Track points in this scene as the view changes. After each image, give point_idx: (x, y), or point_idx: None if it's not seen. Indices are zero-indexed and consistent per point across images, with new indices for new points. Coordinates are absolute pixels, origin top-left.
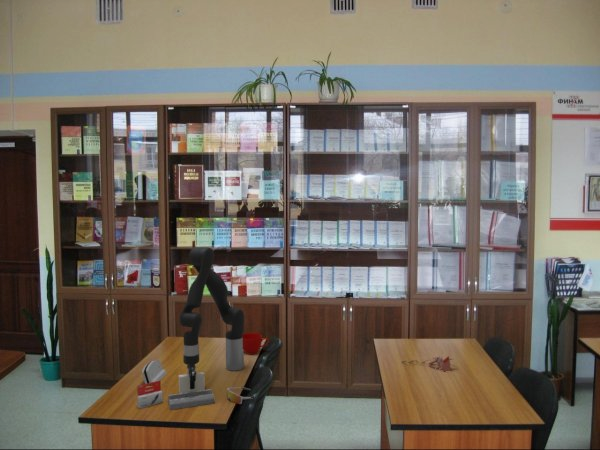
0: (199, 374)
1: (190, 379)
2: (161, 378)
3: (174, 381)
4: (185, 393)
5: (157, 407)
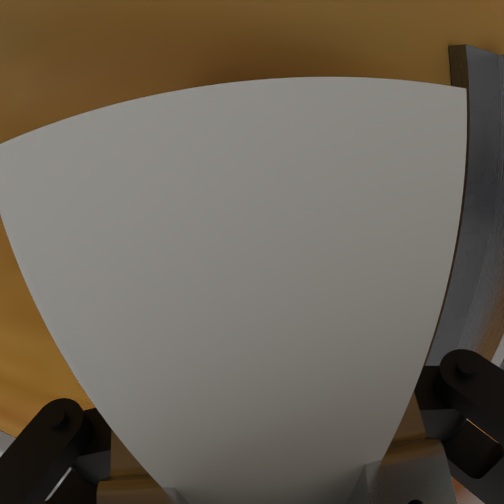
0: (392, 379)
1: (475, 447)
2: (13, 438)
3: (23, 396)
4: (500, 363)
5: None
